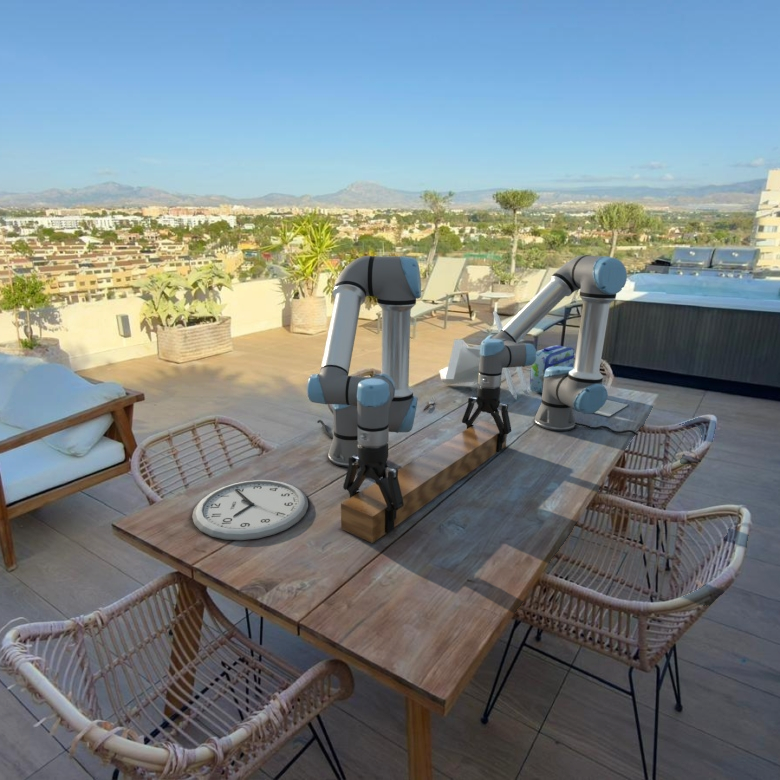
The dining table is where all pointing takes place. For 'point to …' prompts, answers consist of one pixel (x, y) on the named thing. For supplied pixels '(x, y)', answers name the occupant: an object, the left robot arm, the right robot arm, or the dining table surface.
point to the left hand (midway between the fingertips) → (372, 522)
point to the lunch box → (549, 364)
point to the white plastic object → (474, 365)
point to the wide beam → (421, 480)
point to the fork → (430, 403)
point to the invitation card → (610, 408)
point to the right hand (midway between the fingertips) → (484, 446)
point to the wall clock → (250, 510)
